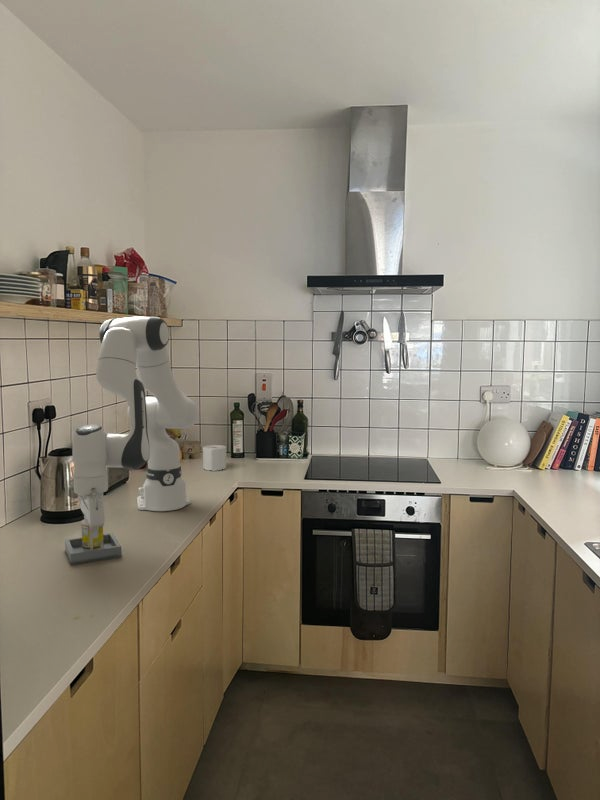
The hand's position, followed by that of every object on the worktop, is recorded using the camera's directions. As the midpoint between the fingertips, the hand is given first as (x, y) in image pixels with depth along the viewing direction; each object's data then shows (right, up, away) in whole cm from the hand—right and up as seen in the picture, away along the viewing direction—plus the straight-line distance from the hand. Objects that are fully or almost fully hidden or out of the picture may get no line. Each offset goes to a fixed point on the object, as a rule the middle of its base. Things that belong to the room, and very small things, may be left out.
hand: (92, 533), depth 167 cm
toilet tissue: (+18, +5, +111) cm, 112 cm away
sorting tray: (0, -6, 0) cm, 6 cm away
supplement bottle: (0, -4, 0) cm, 4 cm away
